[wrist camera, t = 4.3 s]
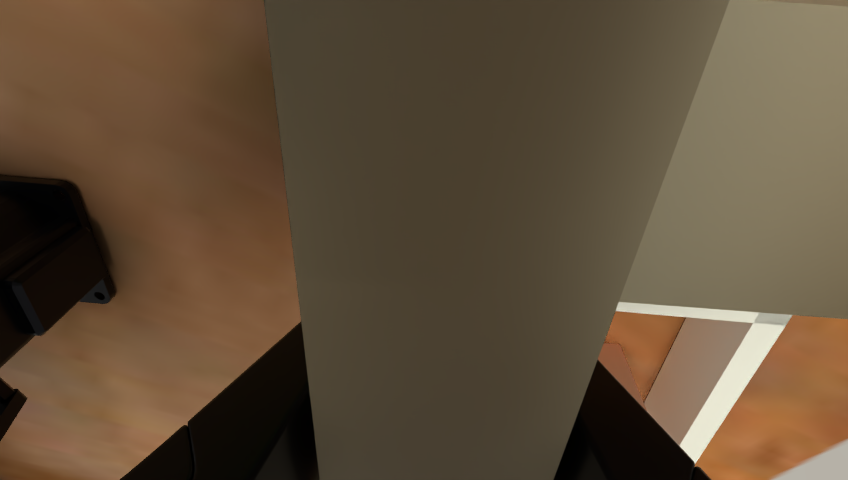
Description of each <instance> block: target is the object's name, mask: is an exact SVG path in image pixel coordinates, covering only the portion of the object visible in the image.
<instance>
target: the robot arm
mask: <svg viewBox="0 0 848 480" xmlns="http://www.w3.org/2000/svg"><path fill="white" fill-rule="evenodd" d="M60 191H61V192H62V193H63V194H64V195H65V196H64V195H63V194H61V192H60ZM114 296H115V291H114V288H113V286H112V283H111V280H110V278H109V275H108V273H107V270H106V267H105V265H104V262H103V259H102V257H101V254H100V252H99V249H98V246H97V244H96V241H95V238H94V236H93V233H92V230H91V228H90V225H89V223H88V220H87V217H86V215H85V212H84V209H83V207H82V204H81V202H80V199H79V196H78V194H77V191H76V190H75V188H74V187H73V186H72V185H71V184H69V183H67V182H65V181H59V180H47V179H35V178H24V177H12V176H0V368H1V367H2V366H3V365H4V364H5V363H6V362H7V361H8V360H9V359H11V358H12V357H13V356H14V355H15V354H16V353H17V352H18V351H19V350H20V349H21V348H22V347H23V346H25V345H26V344H27V343H28V342H29V341H30V340H31V339H32V338H33V337H34V336H35V335H37V336H41V335H43V334H45V333H46V332H47V331H48V330H49V329H50V328H51V327H52V326H53V325H54V324H55V323H56V322H57V321H59V320H60V319H61V318H62V317H63V316H64V315H65V314H66V313H67V312H68V311H69V310H70V309H71V308H72V307H73V306H74V305H76V304H77V303H78V302H88V303H100V304H106V303H108V302H109V301H110V300H111V299H112V298H113V297H114ZM26 400H27V397H26V396H25V395H24V394H22V393H21V392H20V391H19V390H18V389H13V388H12V387H10V386H9V385H8V384H7V383H6V382H5V381H4V380H3V379H2V378H0V441H1V439H2V438H3V436H4V435H5V433H6V432H7V430H8V428H9V427H10V425H11V424H12V422H13V421H14V419H15V418H16V416H17V414H18V413H19V411H20V410H21V408H22V407H23V405H24V403H25V402H26ZM694 466H695V463H694V461H693V460H692V459H691V458H690V457H689V456H688V455H687V453H686V452H685V451H684V450H683V449H682V448H681V447H680V446H679V445H678V444H677V443H676V442H675V441H674V440H673V439H672V438H671V436H670V435H669V434H668V433H667V432H666V431H665V430H664V429H663V428H662V427H661V426H660V425H659V424H658V423H657V422H656V421H655V419H654V418H653V417H652V416H651V415H650V414H649V413H648V412H647V411H646V410H645V409H644V408H643V407H642V406H641V405H640V404H639V402H638V401H637V400H636V399H635V398H634V397H633V396H632V395H631V394H630V393H629V392H628V391H627V390H626V389H625V388H624V387H623V385H622V384H621V383H620V382H619V381H618V380H617V379H616V378H615V377H614V376H613V375H612V374H611V373H610V372H609V371H608V370H607V368H606V367H605V366H604V365H603V364H602V363H601V362H600V361H599V360H597V363H596V365H595V368H594V371H593V373H592V376H591V379H590V382H589V384H588V387H587V390H586V392H585V395H584V398H583V401H582V403H581V406H580V409H579V412H578V414H577V417H576V420H575V422H574V425H573V428H572V431H571V433H570V436H569V439H568V441H567V444H566V447H565V450H564V452H563V455H562V458H561V461H560V463H559V466H558V469H557V471H556V474H555V477H554V480H711V479H710V478H709V477H708V476H707V474H706V473H705V472H704V471H703V470H702V469H701V468H700V467H694ZM120 480H320V478H319V469H318V461H317V452H316V444H315V435H314V426H313V418H312V409H311V401H310V392H309V383H308V375H307V366H306V358H305V349H304V340H303V332H302V323H301V322H300V323H299V324H298V325H296V326H295V327H294V328H293V329H292V330H291V331H290V332H288V333H287V334H286V335H285V336H284V337H283V338H282V339H281V340H279V341H278V342H277V343H276V344H275V345H274V346H273V347H272V348H270V349H269V350H268V351H267V352H266V353H265V354H264V355H263V356H261V357H260V358H259V359H258V360H257V361H256V362H255V363H253V364H252V365H251V366H250V367H249V368H248V369H247V370H246V371H244V372H243V373H242V374H241V375H240V376H239V377H238V378H237V379H235V380H234V381H233V382H232V383H231V384H230V385H229V386H228V387H226V388H225V389H224V390H223V391H222V392H221V393H220V394H218V395H217V396H216V397H215V398H214V399H213V400H212V401H211V402H209V403H208V404H207V405H206V406H205V407H204V408H203V409H202V410H200V411H199V412H198V413H197V414H196V415H195V416H194V417H193V418H191V419H190V420H189V421H188V426H186V425H184V426H182V427H181V428H180V429H179V430H178V431H176V432H175V433H174V434H173V435H172V436H171V437H170V438H169V439H167V440H166V441H165V442H164V443H163V444H162V445H161V446H159V447H158V448H157V449H156V450H155V451H153V452H152V453H151V454H150V455H149V456H148V457H146V458H145V459H144V460H143V461H142V462H140V463H139V464H138V465H137V466H136V467H135V468H133V469H132V470H131V471H130V472H129V473H128V474H126V475H125V476H124V477H122V478H121V479H120Z"/></svg>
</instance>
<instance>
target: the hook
mask: <svg viewBox="0 0 848 480" xmlns="http://www.w3.org/2000/svg"><path fill="white" fill-rule="evenodd" d="M264 5H265V14H266V22H267V31H268V40H269V48H270V57H271V65H272V74H273V82H274V91H275V100H276V108H277V117H278V125H279V134H280V143H281V151H282V160H283V168H284V177H285V186H286V194H287V203H288V211H289V220H290V229H291V237H292V246H293V254H294V263H295V272H296V280H297V289H298V297H299V306H300V315H301V323H302V332H303V340H304V349H305V358H306V366H307V375H308V383H309V392H310V401H311V409H312V418H313V426H314V435H315V444H316V452H317V461H318V469H319V478H320V480H554V477H555V474H556V471H557V469H558V466H559V463H560V461H561V458H562V455H563V452H564V450H565V447H566V444H567V441H568V439H569V436H570V433H571V431H572V428H573V425H574V422H575V420H576V417H577V414H578V412H579V409H580V406H581V403H582V401H583V398H584V395H585V392H586V390H587V387H588V384H589V382H590V379H591V376H592V373H593V371H594V368H595V365H596V363H597V360H598V357H599V354H600V352H601V349H602V346H603V344H604V341H605V338H606V335H607V333H608V330H609V327H610V324H611V322H612V319H613V316H614V314H615V311H616V308H617V305H618V303H619V302H626V303H639V304H653V305H666V306H680V307H693V308H706V309H720V310H733V311H747V312H760V313H773V314H787V315H800V316H813V317H827V318H840V319H848V0H264Z"/></svg>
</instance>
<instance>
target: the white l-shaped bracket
mask: <svg viewBox="0 0 848 480" xmlns="http://www.w3.org/2000/svg"><path fill="white" fill-rule="evenodd" d="M616 311H621V312H633V313H644V314H655V315H667V316H678V317H686V319H685V321H684V323H683V325H682V327H681V329H680V331H679V333H678V335H677V337H676V339H675V341H674V343H673V345H672V347H671V349H670V351H669V353H668V355H667V357H666V360H665V362H664V364H663V366H662V368H661V370H660V372H659V374H658V376H657V378H656V380H655V382H654V384H653V386H652V388H651V390H650V392H649V394H648V396H647V398H646V400H645V402H644V405H645V407H646V410H647V412H648V413H649V414H650V415H651V416H652V417H653V418H654V419H655V421H656V422H657V423H658V424H659V425H660V426H661V427H662V428H663V429H664V430H665V431H666V432H667V433H668V434H669V435H670V436H671V438H672V439H673V440H674V441H675V442H676V443H677V444H678V445H679V446H680V447H681V448H682V449H683V450H684V451H685V452H686V453H687V455H688V456H689V457H690V458H691V459H692V460H693V461H694V463H696V462H697V460H698V459H699V457H700V456H701V454H702V453H703V451H704V450H705V448H706V446H707V445H708V443H709V442H710V440H711V439H712V437H713V436H714V434H715V433H716V431H717V430H718V428H719V427H720V425H721V424H722V422H723V421H724V419H725V417H726V416H727V414H728V413H729V411H730V410H731V408H732V407H733V405H734V404H735V402H736V401H737V399H738V398H739V396H740V395H741V393H742V391H743V390H744V388H745V387H746V385H747V384H748V382H749V381H750V379H751V378H752V376H753V375H754V373H755V372H756V370H757V369H758V367H759V366H760V364H761V362H762V361H763V359H764V358H765V356H766V355H767V353H768V352H769V350H770V349H771V347H772V346H773V344H774V343H775V341H776V340H777V338H778V337H779V335H780V333H781V332H782V330H783V329H784V327H785V326H786V324H787V323H788V321H789V320H790V318H791V317H792V315H787V314H773V313H760V312H747V311H733V310H720V309H706V308H693V307H680V306H666V305H653V304H639V303H626V302H619V303H618V305H617V308H616Z"/></svg>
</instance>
